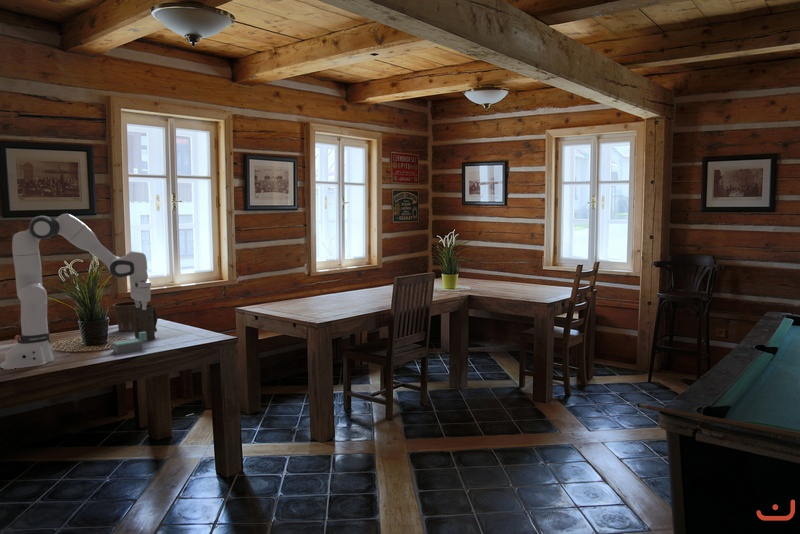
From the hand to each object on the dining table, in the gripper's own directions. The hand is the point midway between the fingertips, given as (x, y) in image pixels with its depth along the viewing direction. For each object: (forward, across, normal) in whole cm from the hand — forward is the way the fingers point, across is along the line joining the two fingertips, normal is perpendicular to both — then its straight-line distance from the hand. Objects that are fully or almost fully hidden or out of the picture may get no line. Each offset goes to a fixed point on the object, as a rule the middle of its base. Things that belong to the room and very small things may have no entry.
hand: (141, 308), depth 324 cm
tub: (+22, 0, -8) cm, 23 cm away
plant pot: (+22, -58, +11) cm, 63 cm away
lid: (+17, 0, -6) cm, 18 cm away
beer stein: (+22, -23, +10) cm, 33 cm away
